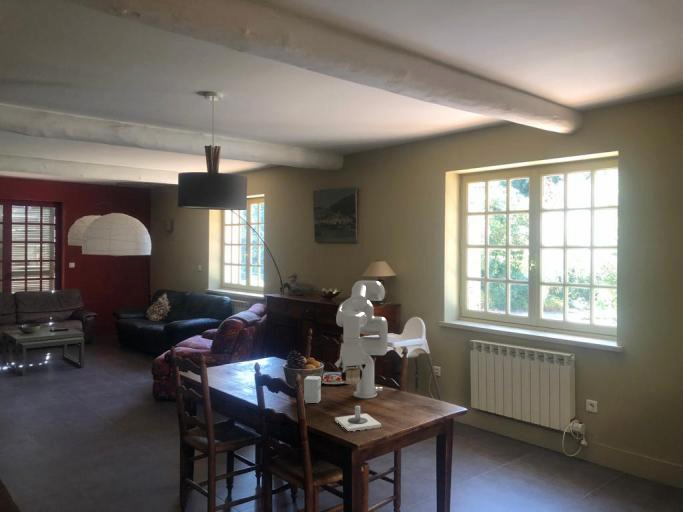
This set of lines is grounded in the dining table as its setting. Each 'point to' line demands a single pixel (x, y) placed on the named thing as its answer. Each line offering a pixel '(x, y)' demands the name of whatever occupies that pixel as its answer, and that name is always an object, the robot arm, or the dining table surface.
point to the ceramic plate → (332, 378)
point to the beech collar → (352, 375)
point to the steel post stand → (358, 421)
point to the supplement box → (312, 389)
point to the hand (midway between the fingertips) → (351, 379)
